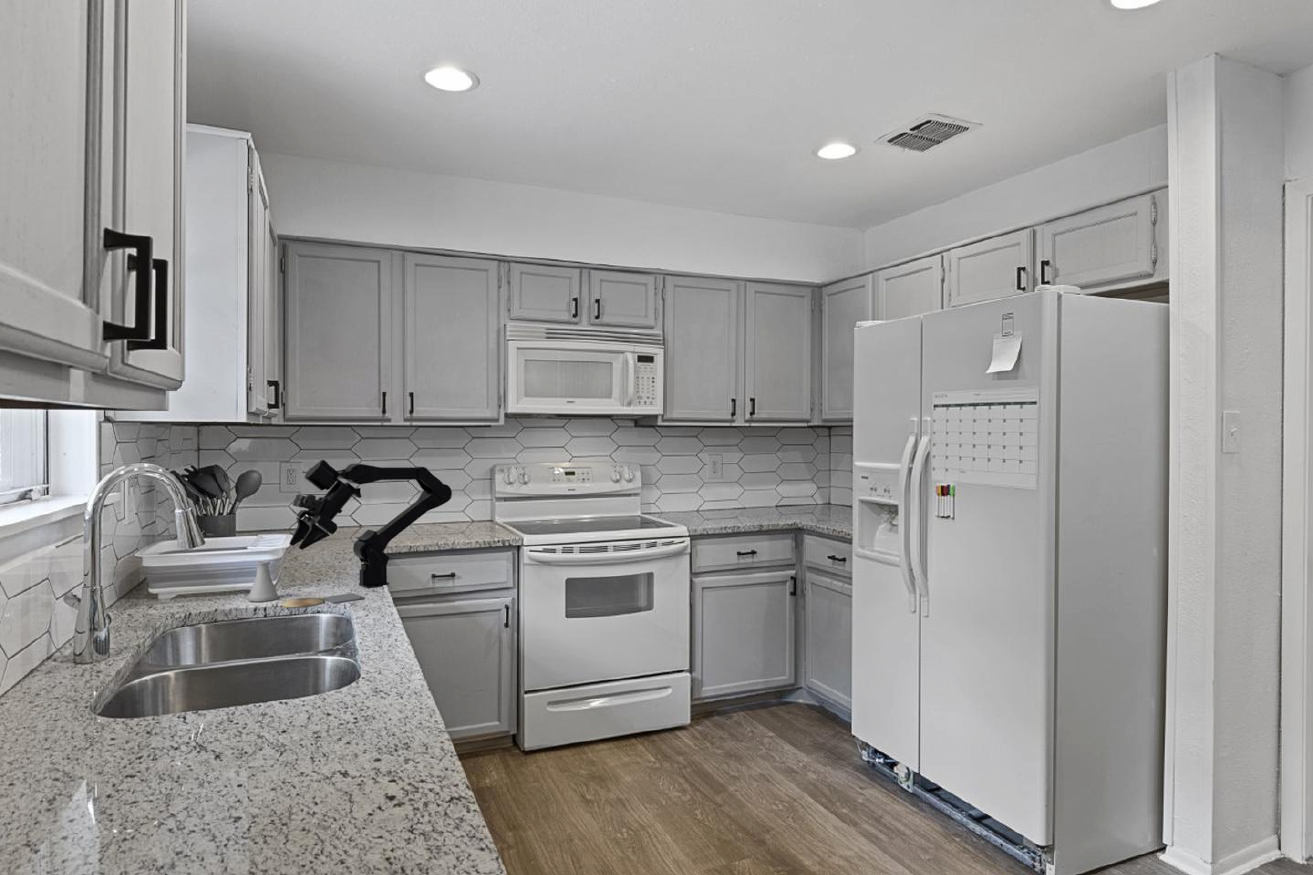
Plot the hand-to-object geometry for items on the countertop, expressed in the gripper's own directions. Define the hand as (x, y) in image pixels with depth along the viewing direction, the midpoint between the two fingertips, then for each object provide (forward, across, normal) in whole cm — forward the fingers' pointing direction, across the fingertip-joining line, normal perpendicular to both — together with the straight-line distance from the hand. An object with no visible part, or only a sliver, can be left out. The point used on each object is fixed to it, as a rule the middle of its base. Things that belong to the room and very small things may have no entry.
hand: (295, 546), depth 212 cm
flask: (+15, 0, +3) cm, 16 cm away
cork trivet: (+11, +11, +8) cm, 17 cm away
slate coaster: (+4, +13, +15) cm, 20 cm away
